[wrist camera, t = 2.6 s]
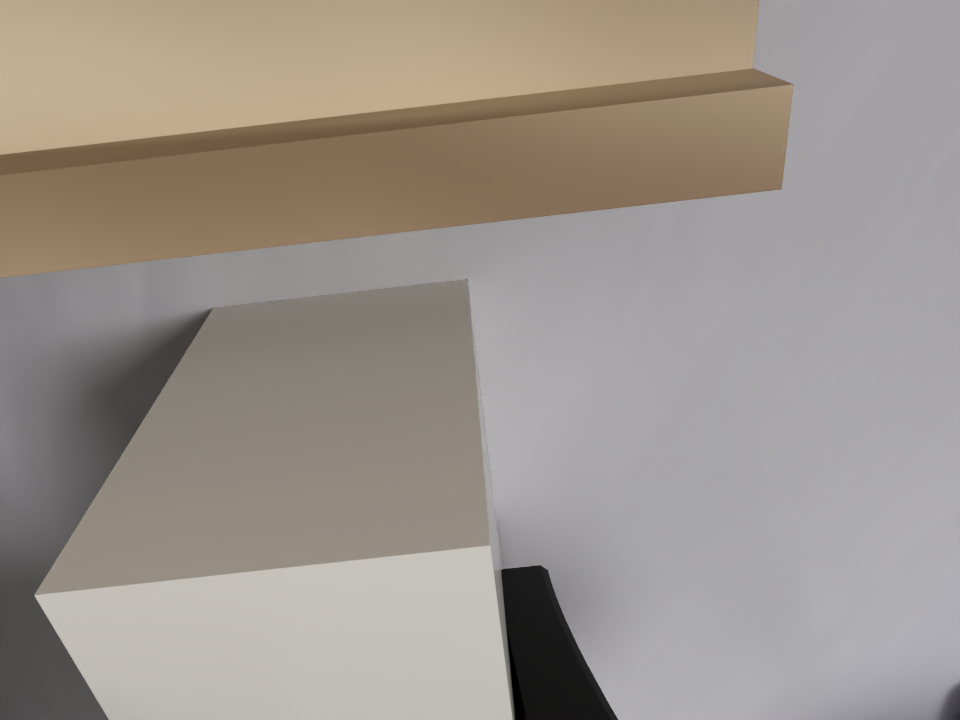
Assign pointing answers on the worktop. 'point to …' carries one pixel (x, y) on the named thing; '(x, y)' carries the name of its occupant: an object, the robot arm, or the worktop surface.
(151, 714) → the white rectangular block
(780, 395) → the worktop surface
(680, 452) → the worktop surface
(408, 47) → the wooden base plate
